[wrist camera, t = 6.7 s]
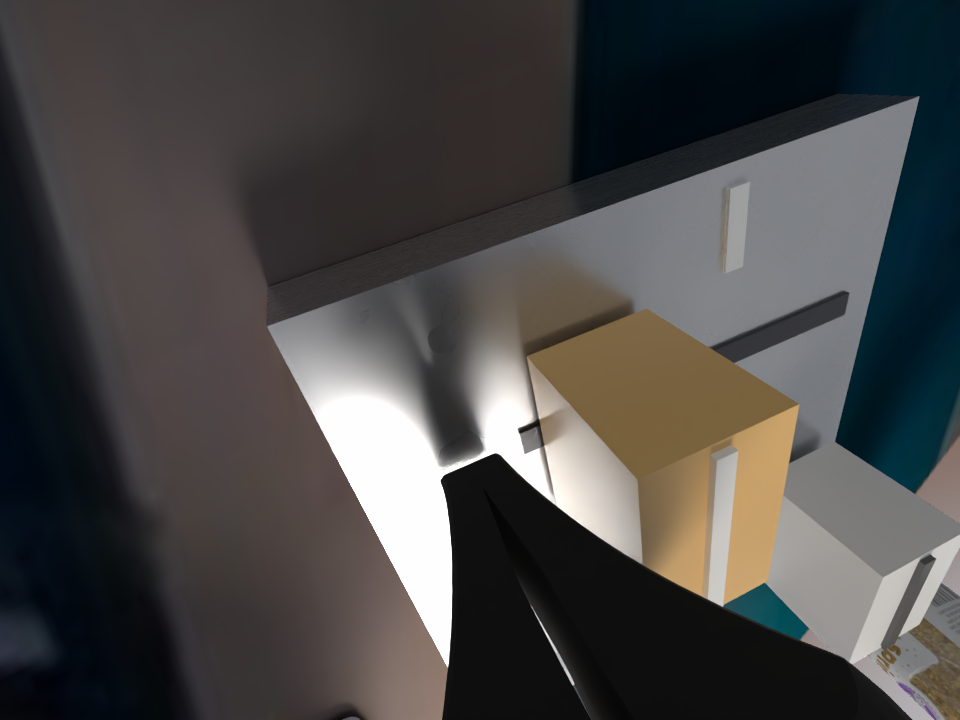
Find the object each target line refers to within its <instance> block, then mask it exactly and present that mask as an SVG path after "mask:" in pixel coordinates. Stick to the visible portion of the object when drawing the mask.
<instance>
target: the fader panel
mask: <svg viewBox="0 0 960 720" xmlns="http://www.w3.org/2000/svg"><path fill="white" fill-rule="evenodd" d="M918 100H919V96H893V95H863V94H836V95H833V96H830V97H827V98H824V99H821V100H818V101H815V102H812V103H809V104H806V105H803V106H800V107H797V108H794V109H792V110H789V111H786V112H783V113H780V114H777V115H774V116H771V117H768V118H765V119H762V120H759V121H756V122H753V123H750V124H747V125H744V126H741V127H738V128H735V129H732V130H730V131H727V132H724V133H721V134H718V135H715V136H712V137H709V138H706V139H703V140H700V141H697V142H694V143H691V144H688V145H685V146H682V147H679V148H676V149H673V150H671V151H668V152H665V153H662V154H659V155H656V156H653V157H650V158H647V159H644V160H641V161H638V162H635V163H632V164H629V165H626V166H623V167H620V168H617V169H614V170H611V171H609V172H606V173H603V174H600V175H597V176H594V177H591V178H588V179H585V180H582V181H579V182H576V183H573V184H570V185H567V186H564V187H561V188H558V189H555V190H552V191H550V192H547V193H544V194H541V195H538V196H535V197H532V198H529V199H526V200H523V201H520V202H517V203H514V204H511V205H508V206H505V207H502V208H499V209H496V210H493V211H491V212H488V213H485V214H482V215H479V216H476V217H473V218H470V219H467V220H464V221H461V222H458V223H455V224H452V225H449V226H446V227H443V228H440V229H437V230H434V231H431V232H429V233H426V234H423V235H420V236H417V237H414V238H411V239H408V240H405V241H402V242H399V243H396V244H393V245H390V246H387V247H384V248H381V249H378V250H375V251H372V252H370V253H367V254H364V255H361V256H358V257H355V258H352V259H349V260H346V261H343V262H340V263H337V264H334V265H331V266H328V267H325V268H322V269H319V270H316V271H313V272H310V273H308V274H305V275H302V276H299V277H296V278H293V279H290V280H287V281H284V282H281V283H278V284H275V285H272V286H269V287H268V304H267V327H268V329H269V331H270V333H271V335H272V337H273V339H274V341H275V343H276V344H277V346H278V348H279V350H280V352H281V354H282V356H283V358H284V359H285V361H286V363H287V365H288V367H289V369H290V371H291V373H292V375H293V376H294V378H295V380H296V382H297V384H298V386H299V388H300V390H301V392H302V393H303V395H304V397H305V399H306V401H307V403H308V405H309V407H310V408H311V410H312V412H313V414H314V416H315V418H316V420H317V422H318V424H319V425H320V427H321V429H322V431H323V433H324V435H325V437H326V439H327V440H328V442H329V444H330V446H331V448H332V450H333V452H334V454H335V456H336V457H337V459H338V461H339V463H340V465H341V467H342V469H343V471H344V472H345V474H346V476H347V478H348V480H349V482H350V484H351V486H352V488H353V489H354V491H355V493H356V495H357V497H358V499H359V501H360V503H361V505H362V506H363V508H364V510H365V512H366V514H367V516H368V518H369V520H370V521H371V523H372V525H373V527H374V529H375V531H376V533H377V535H378V537H379V538H380V540H381V542H382V544H383V546H384V548H385V550H386V552H387V553H388V555H389V557H390V559H391V561H392V563H393V565H394V567H395V569H396V570H397V572H398V574H399V576H400V578H401V580H402V582H403V584H404V585H405V587H406V589H407V591H408V593H409V595H410V597H411V599H412V601H413V602H414V604H415V606H416V608H417V610H418V612H419V614H420V616H421V618H422V619H423V621H424V623H425V625H426V627H427V629H428V631H429V633H430V634H431V636H432V638H433V640H434V642H435V644H436V646H437V648H438V650H439V651H440V653H441V655H442V657H443V659H444V661H445V663H446V665H447V666H448V663H449V650H450V635H451V614H452V559H451V542H450V528H449V520H448V512H447V506H446V500H445V496H444V492H443V488H442V485H441V483H440V480H441V478H442V477H443V475H445V474H447V473H449V472H452V471H454V470H456V469H459V468H461V467H463V466H465V465H468V464H470V463H472V462H475V461H477V460H479V459H482V458H484V457H486V456H489V455H491V454H493V453H497V454H500V455H501V456H502V457H503V458H504V459H505V460H506V461H507V462H508V463H509V464H510V466H511V467H512V468H513V469H514V470H515V471H517V472H518V473H519V474H520V475H521V476H522V477H523V478H524V479H525V480H526V481H527V482H528V483H530V484H531V485H532V486H533V487H534V488H535V489H536V490H537V491H539V492H540V493H541V494H542V495H543V496H545V497H546V498H547V499H548V500H550V501H551V502H552V503H553V504H555V505H556V500H555V495H554V490H553V485H552V480H551V475H550V470H549V465H548V461H547V456H546V451H545V446H544V441H543V436H542V431H541V426H540V421H539V416H538V411H537V406H536V401H535V396H534V391H533V386H532V381H531V376H530V371H529V366H528V361H527V356H529V355H531V354H534V353H536V352H539V351H541V350H544V349H546V348H549V347H551V346H554V345H556V344H559V343H561V342H564V341H566V340H569V339H571V338H574V337H576V336H579V335H581V334H584V333H586V332H589V331H591V330H594V329H596V328H599V327H601V326H604V325H606V324H609V323H611V322H614V321H616V320H619V319H621V318H624V317H626V316H629V315H631V314H634V313H636V312H639V311H641V310H644V309H646V308H647V309H648V310H650V311H651V312H653V313H655V314H656V315H658V316H659V317H661V318H663V319H664V320H666V321H667V322H669V323H671V324H672V325H674V326H675V327H677V328H679V329H680V330H682V331H683V332H685V333H687V334H688V335H690V336H691V337H693V338H695V339H696V340H698V341H699V342H701V343H703V344H704V345H706V346H707V347H709V348H711V349H712V350H714V351H715V352H717V353H719V354H720V355H722V356H723V357H725V358H727V359H728V360H730V361H731V362H733V363H735V364H736V365H738V366H739V367H741V368H743V369H744V370H746V371H747V372H749V373H751V374H752V375H754V376H755V377H757V378H759V379H760V380H762V381H763V382H765V383H767V384H768V385H770V386H771V387H773V388H775V389H776V390H778V391H779V392H781V393H782V394H784V395H786V396H787V397H789V398H790V399H792V400H794V401H795V402H797V403H798V404H799V410H798V416H797V421H796V427H795V432H794V438H793V443H792V449H791V454H790V460H789V463H791V462H793V461H795V460H797V459H799V458H801V457H803V456H805V455H807V454H809V453H811V452H813V451H815V450H817V449H820V448H822V447H824V446H826V445H828V444H830V443H832V442H835V439H836V435H837V431H838V427H839V422H840V418H841V414H842V410H843V406H844V402H845V398H846V394H847V390H848V386H849V382H850V378H851V374H852V369H853V365H854V361H855V357H856V353H857V349H858V345H859V341H860V337H861V333H862V329H863V325H864V320H865V316H866V312H867V308H868V304H869V300H870V296H871V292H872V288H873V284H874V280H875V276H876V271H877V267H878V263H879V259H880V255H881V251H882V247H883V243H884V239H885V235H886V231H887V227H888V222H889V218H890V214H891V210H892V206H893V202H894V198H895V194H896V190H897V186H898V182H899V178H900V174H901V169H902V165H903V161H904V157H905V153H906V149H907V145H908V141H909V137H910V133H911V129H912V125H913V120H914V116H915V112H916V108H917V104H918ZM556 506H557V505H556ZM531 607H532V606H531ZM532 609H533V608H532ZM533 611H534V610H533ZM534 613H535V611H534ZM535 615H536V613H535ZM536 617H537V615H536ZM537 619H538V620H539V618H538V617H537ZM539 622H540V620H539ZM540 624H541V622H540ZM541 626H542V628H543V630H544V632H545V634H546V636H547V638H548V640H549V642H550V644H551V645H552V647H553V649H554V651H555V653H556V655H557V657H558V659H559V661H560V663H561V665H562V667H563V668H564V670H565V672H566V674H567V676H568V678H569V680H570V682H571V683H572V685H574V682H573V679H572V677H571V675H570V673H569V672H568V670H567V668H566V666H565V664H564V662H563V660H562V658H561V656H560V655H559V653H558V651H557V649H556V648H555V646H554V644H553V643H552V641H551V639H550V637H549V636H548V634H547V632H546V630H545V629H544V627H543V625H542V624H541Z"/></svg>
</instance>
